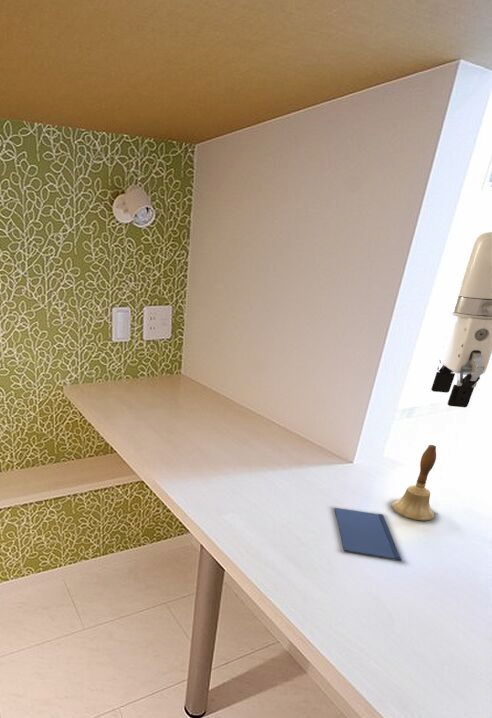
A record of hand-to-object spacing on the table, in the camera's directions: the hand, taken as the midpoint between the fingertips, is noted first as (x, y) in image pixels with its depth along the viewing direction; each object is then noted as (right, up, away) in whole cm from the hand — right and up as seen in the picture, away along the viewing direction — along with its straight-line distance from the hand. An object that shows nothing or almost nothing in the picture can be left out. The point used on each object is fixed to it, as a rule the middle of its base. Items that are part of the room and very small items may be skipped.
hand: (447, 398), depth 86 cm
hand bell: (0, -24, +12) cm, 27 cm away
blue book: (-15, -27, +4) cm, 31 cm away
